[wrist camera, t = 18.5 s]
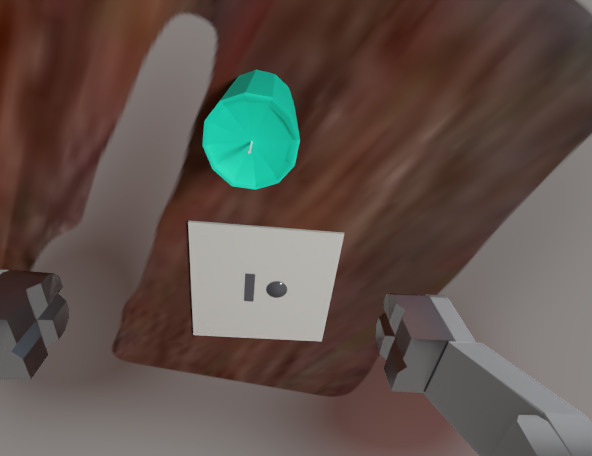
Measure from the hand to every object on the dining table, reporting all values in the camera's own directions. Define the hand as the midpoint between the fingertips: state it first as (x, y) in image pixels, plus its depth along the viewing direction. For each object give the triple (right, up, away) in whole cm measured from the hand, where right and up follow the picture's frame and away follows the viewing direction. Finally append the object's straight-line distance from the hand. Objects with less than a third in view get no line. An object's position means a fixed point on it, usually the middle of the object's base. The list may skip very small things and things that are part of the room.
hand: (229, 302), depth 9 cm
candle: (-1, +12, +22) cm, 25 cm away
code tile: (-2, -5, +31) cm, 32 cm away
